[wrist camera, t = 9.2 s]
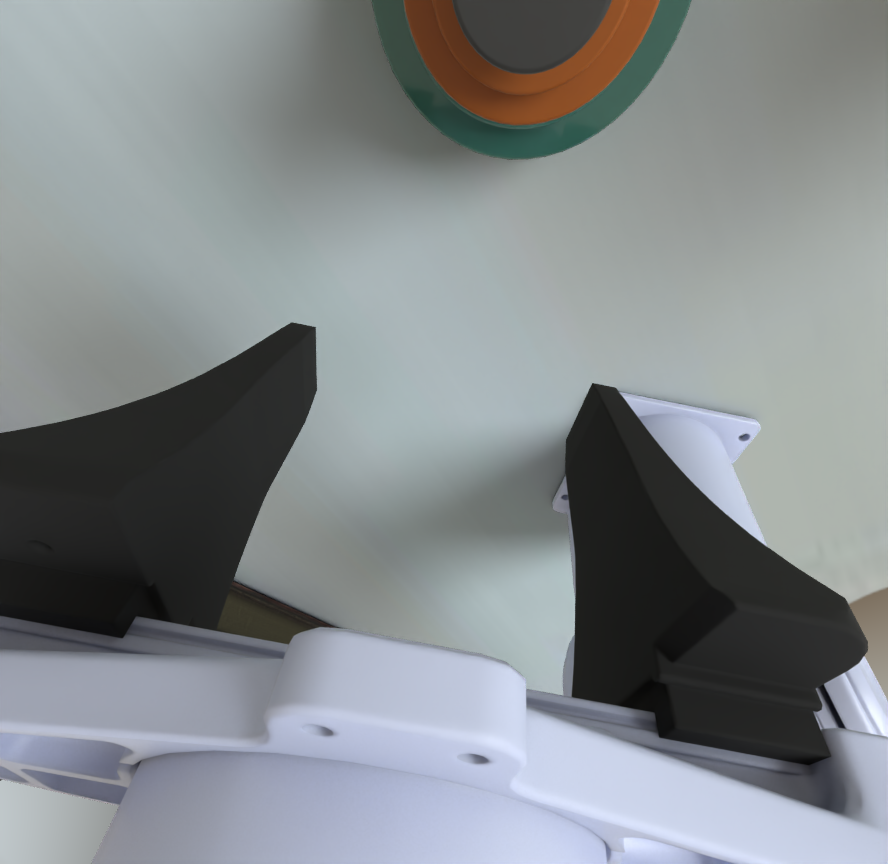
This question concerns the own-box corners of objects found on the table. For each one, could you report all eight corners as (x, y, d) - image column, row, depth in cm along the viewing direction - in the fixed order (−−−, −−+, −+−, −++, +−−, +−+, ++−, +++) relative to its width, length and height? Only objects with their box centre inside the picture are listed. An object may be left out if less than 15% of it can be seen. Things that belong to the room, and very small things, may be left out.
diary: (94, 634, 55) (63, 681, 51) (162, 544, 40) (125, 602, 36) (248, 691, 61) (231, 737, 58) (354, 632, 47) (340, 688, 43)
